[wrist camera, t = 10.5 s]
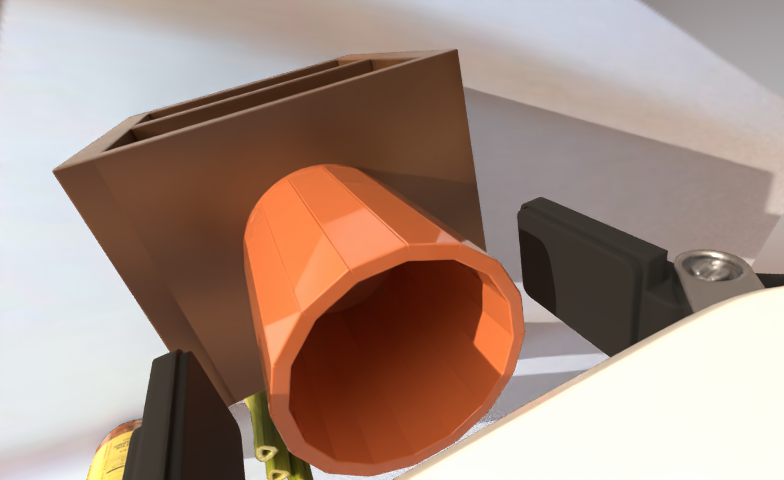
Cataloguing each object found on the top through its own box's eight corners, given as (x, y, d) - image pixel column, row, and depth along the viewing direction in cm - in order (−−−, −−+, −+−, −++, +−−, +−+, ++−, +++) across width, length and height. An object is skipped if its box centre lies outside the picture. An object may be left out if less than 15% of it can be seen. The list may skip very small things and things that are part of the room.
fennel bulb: (231, 328, 32) (242, 455, 21) (297, 317, 33) (336, 430, 23) (238, 388, 34) (250, 530, 23) (299, 375, 36) (335, 502, 25)
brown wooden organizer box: (128, 117, 24) (50, 170, 12) (349, 54, 28) (458, 48, 16) (209, 271, 29) (210, 415, 17) (388, 203, 33) (491, 284, 21)
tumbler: (213, 198, 14) (218, 323, 7) (381, 140, 16) (512, 200, 9) (279, 337, 17) (324, 516, 10) (415, 277, 19) (532, 399, 12)
